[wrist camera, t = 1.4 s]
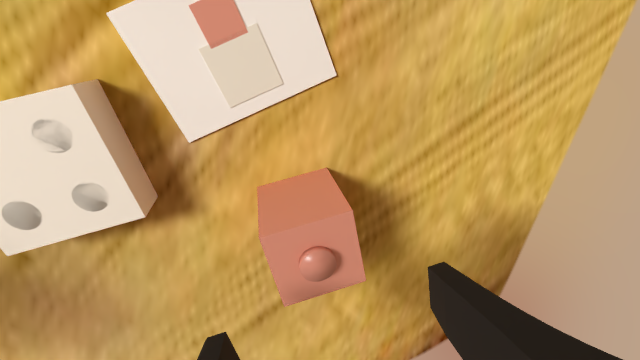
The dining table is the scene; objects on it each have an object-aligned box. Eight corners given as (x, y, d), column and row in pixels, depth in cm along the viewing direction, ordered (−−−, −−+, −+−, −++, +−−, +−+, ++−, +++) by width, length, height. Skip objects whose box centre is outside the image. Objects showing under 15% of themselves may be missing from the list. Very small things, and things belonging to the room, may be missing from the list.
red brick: (339, 225, 19) (369, 286, 14) (276, 243, 19) (285, 313, 14) (326, 167, 17) (355, 215, 12) (257, 186, 17) (259, 243, 12)
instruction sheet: (336, 75, 15) (337, 75, 15) (189, 142, 15) (188, 143, 15) (285, -67, 12) (286, -68, 12) (106, 13, 12) (105, 13, 12)
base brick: (159, 193, 16) (145, 217, 14) (41, 225, 16) (7, 256, 13) (101, 78, 14) (71, 84, 11) (-43, 112, 13) (-104, 126, 11)
